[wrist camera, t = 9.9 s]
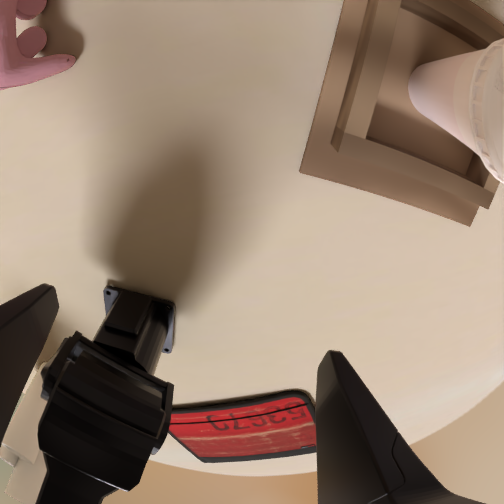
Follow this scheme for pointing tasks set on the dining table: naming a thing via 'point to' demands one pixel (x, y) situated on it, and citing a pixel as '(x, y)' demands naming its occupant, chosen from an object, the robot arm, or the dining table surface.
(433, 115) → the smoothie
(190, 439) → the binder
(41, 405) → the vase
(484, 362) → the dining table surface
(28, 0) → the video game controller
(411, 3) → the brown shallow square tray
